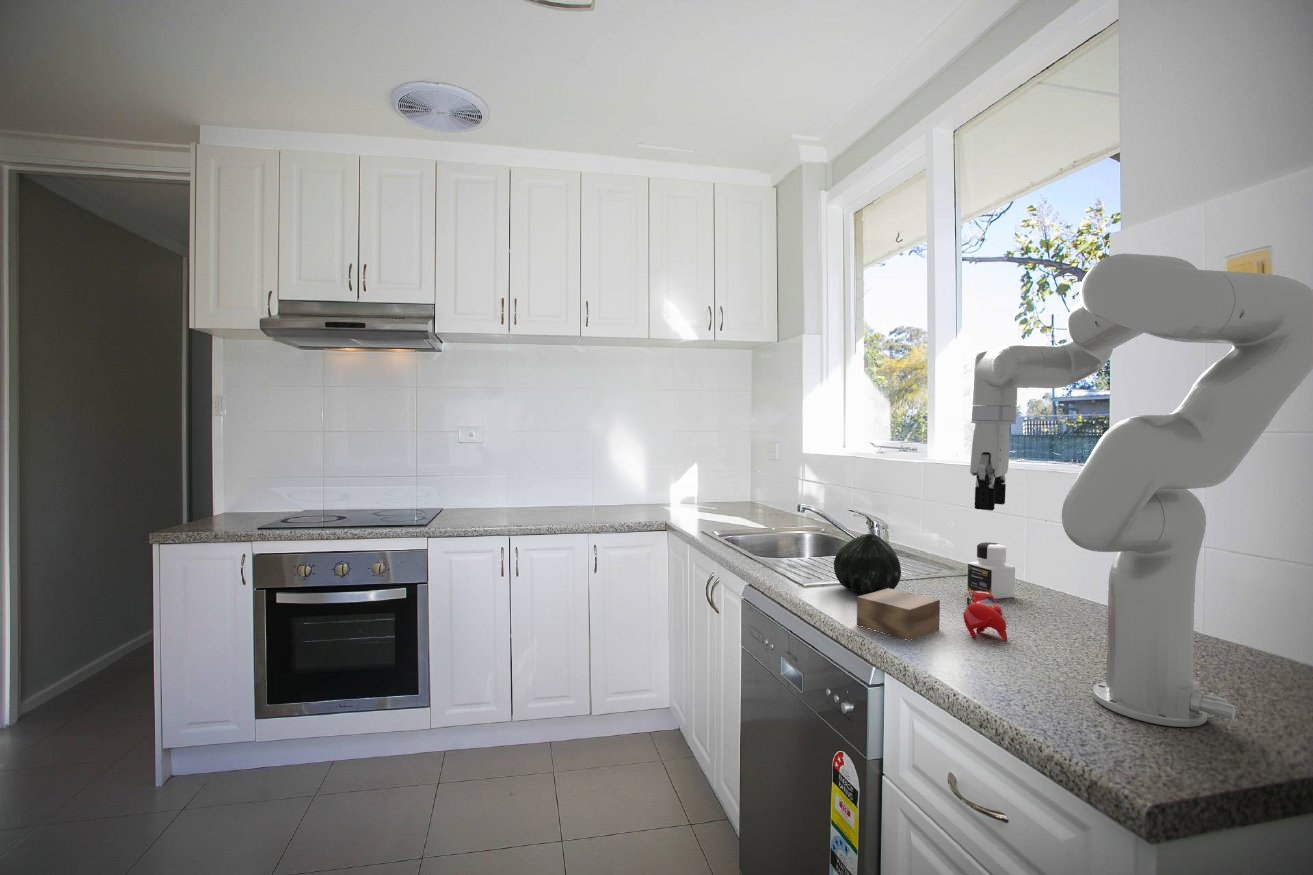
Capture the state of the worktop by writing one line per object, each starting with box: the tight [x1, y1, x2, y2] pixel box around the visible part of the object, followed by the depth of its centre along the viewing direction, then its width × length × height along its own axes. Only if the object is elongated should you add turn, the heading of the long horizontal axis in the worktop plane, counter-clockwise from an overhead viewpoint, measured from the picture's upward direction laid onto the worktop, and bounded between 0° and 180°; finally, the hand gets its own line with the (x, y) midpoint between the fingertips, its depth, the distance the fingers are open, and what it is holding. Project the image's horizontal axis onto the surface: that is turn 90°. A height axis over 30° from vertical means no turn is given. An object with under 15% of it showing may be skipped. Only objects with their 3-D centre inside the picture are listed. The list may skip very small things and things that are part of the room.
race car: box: [966, 591, 1003, 617], centre depth 136 cm, size 13×5×4 cm, turn 161°
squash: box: [833, 533, 902, 595], centre depth 151 cm, size 14×15×15 cm
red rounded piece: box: [962, 603, 1008, 642], centre depth 119 cm, size 8×6×6 cm
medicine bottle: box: [967, 541, 1016, 600], centre depth 149 cm, size 7×7×12 cm
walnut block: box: [856, 588, 941, 641], centre depth 124 cm, size 11×11×6 cm
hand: (990, 506), depth 120 cm, fingers open, 9 cm apart
